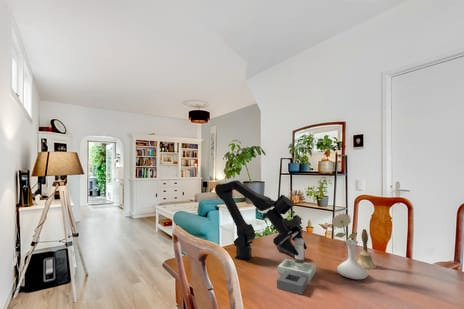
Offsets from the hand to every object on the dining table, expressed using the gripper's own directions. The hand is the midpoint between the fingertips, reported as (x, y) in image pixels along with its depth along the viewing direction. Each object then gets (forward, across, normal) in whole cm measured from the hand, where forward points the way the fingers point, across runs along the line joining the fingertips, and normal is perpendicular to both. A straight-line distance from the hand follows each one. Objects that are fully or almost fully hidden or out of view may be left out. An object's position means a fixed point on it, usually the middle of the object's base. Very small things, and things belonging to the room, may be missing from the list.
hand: (302, 251), depth 102 cm
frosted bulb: (+5, 0, +7) cm, 8 cm away
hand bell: (+20, +26, -7) cm, 34 cm away
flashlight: (-2, +17, +16) cm, 24 cm away
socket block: (+7, -12, +6) cm, 15 cm away
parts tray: (+5, 0, +8) cm, 9 cm away
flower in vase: (+18, +11, -4) cm, 21 cm away
